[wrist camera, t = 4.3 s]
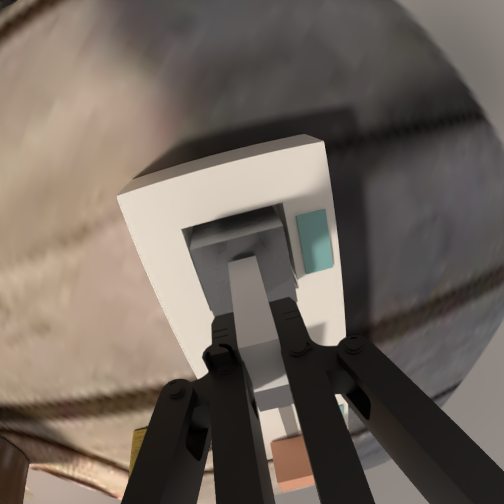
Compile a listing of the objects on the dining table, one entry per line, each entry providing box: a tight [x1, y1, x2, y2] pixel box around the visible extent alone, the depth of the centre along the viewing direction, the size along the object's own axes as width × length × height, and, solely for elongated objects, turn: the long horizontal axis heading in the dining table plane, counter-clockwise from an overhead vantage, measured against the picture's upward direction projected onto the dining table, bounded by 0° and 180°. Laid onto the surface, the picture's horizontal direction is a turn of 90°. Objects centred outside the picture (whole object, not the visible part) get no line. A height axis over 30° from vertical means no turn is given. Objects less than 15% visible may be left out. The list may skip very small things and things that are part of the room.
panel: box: [116, 134, 348, 459], centre depth 26 cm, size 32×12×4 cm, turn 13°
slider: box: [270, 435, 315, 492], centre depth 28 cm, size 3×5×5 cm, turn 103°
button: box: [190, 205, 298, 318], centre depth 19 cm, size 5×5×4 cm
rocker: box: [253, 384, 294, 412], centre depth 23 cm, size 6×4×2 cm, turn 13°
